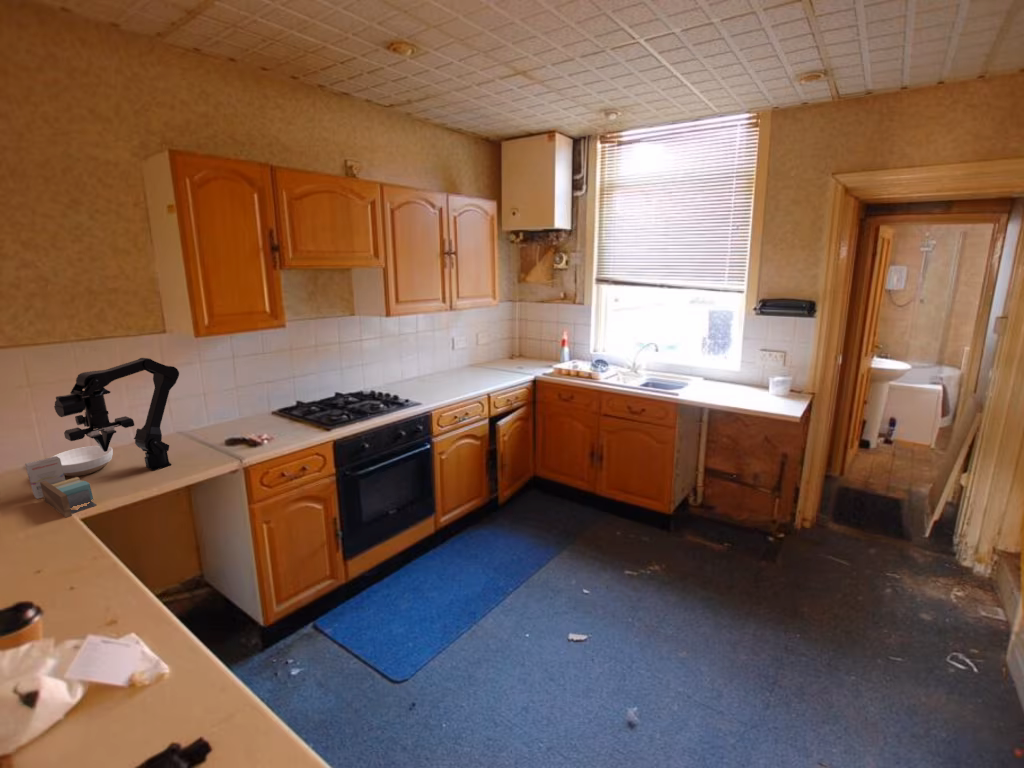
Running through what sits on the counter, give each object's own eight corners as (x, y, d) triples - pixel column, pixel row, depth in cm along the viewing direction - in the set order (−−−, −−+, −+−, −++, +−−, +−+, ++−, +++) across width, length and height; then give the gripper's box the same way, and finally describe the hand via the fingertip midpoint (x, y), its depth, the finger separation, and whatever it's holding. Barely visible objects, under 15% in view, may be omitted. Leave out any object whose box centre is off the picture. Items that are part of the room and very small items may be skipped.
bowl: (103, 477, 195) (99, 461, 193) (39, 484, 190) (34, 468, 188) (124, 457, 213) (121, 443, 212) (66, 463, 208) (62, 448, 206)
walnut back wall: (50, 500, 178) (45, 480, 176) (71, 515, 167) (66, 495, 166) (44, 501, 177) (39, 482, 175) (66, 517, 166) (60, 496, 164)
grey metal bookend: (91, 501, 176) (88, 489, 175) (96, 505, 174) (93, 492, 173) (64, 510, 171) (61, 497, 170) (70, 514, 168) (67, 501, 167)
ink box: (64, 486, 188) (56, 454, 185) (68, 490, 185) (60, 458, 182) (32, 495, 182) (24, 462, 179) (36, 499, 179) (27, 466, 176)
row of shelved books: (80, 491, 184) (77, 476, 182) (87, 496, 180) (84, 481, 179) (51, 500, 177) (47, 485, 176) (58, 505, 174) (54, 490, 173)
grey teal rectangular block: (88, 497, 180) (84, 480, 178) (93, 500, 178) (89, 483, 176) (59, 506, 174) (55, 489, 172) (63, 509, 171) (59, 492, 170)
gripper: (117, 398, 195) (125, 438, 199) (53, 411, 180) (64, 455, 184) (130, 403, 189) (139, 444, 193) (65, 417, 174) (76, 462, 178)
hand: (105, 451), depth 187 cm, fingers closed
